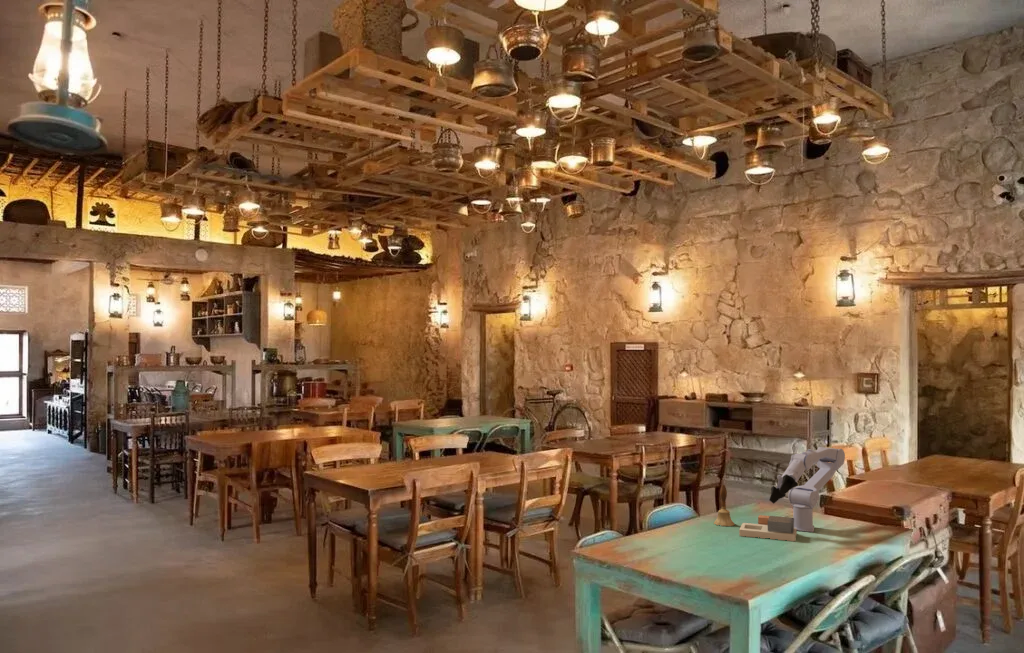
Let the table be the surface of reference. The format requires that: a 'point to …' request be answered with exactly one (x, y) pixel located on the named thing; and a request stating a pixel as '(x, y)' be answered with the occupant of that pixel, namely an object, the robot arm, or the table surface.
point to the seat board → (765, 532)
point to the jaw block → (763, 519)
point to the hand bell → (724, 511)
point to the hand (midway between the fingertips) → (776, 497)
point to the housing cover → (781, 524)
